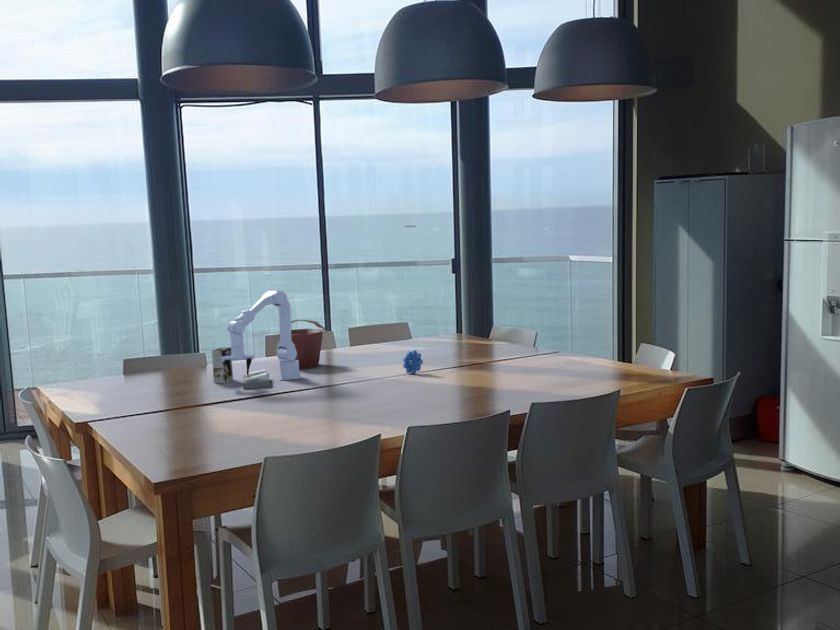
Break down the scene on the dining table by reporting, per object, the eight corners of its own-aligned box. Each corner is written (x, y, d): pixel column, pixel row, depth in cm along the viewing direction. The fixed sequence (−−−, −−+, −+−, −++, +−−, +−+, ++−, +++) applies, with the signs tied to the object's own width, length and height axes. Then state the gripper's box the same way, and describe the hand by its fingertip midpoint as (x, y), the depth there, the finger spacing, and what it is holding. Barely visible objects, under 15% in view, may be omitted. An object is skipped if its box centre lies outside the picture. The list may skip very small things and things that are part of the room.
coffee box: (225, 383, 402) (223, 350, 400) (213, 383, 404) (211, 350, 402) (233, 379, 411) (231, 347, 409) (221, 379, 413) (219, 347, 411)
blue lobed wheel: (428, 373, 408) (427, 349, 406) (420, 376, 402) (419, 351, 401) (408, 371, 414) (407, 347, 413) (400, 374, 409) (399, 350, 408)
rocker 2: (266, 375, 394) (266, 372, 393) (266, 376, 391) (266, 374, 390) (245, 380, 392) (245, 378, 392) (245, 382, 389) (245, 379, 389)
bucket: (334, 364, 443) (332, 317, 440) (307, 371, 424) (305, 323, 421) (299, 361, 456) (296, 316, 453) (271, 368, 437) (269, 321, 434)
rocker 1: (266, 371, 404) (266, 368, 404) (266, 372, 401) (266, 369, 401) (246, 376, 403) (245, 373, 403) (246, 377, 400) (245, 374, 400)
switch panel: (269, 379, 408) (269, 372, 408) (269, 387, 388) (269, 380, 388) (244, 381, 406) (243, 374, 405) (243, 389, 386) (243, 382, 386)
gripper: (221, 349, 383) (223, 378, 385) (253, 346, 385) (255, 375, 387) (221, 346, 390) (223, 375, 391) (253, 344, 392) (255, 372, 394)
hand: (239, 375), depth 390 cm, fingers open, 7 cm apart
